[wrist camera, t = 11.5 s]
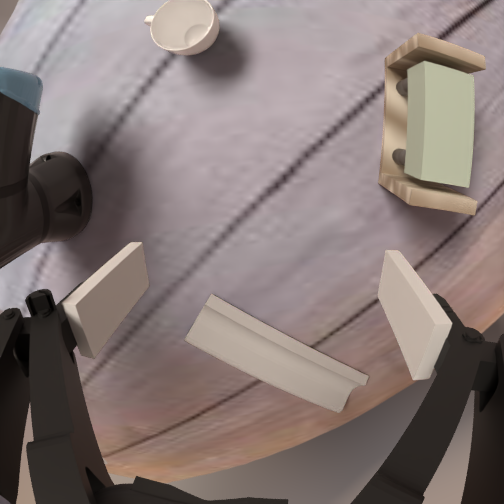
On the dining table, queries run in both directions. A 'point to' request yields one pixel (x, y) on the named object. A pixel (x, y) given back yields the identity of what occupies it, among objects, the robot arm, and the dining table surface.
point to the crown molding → (272, 356)
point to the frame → (396, 122)
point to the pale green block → (440, 124)
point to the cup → (184, 26)
